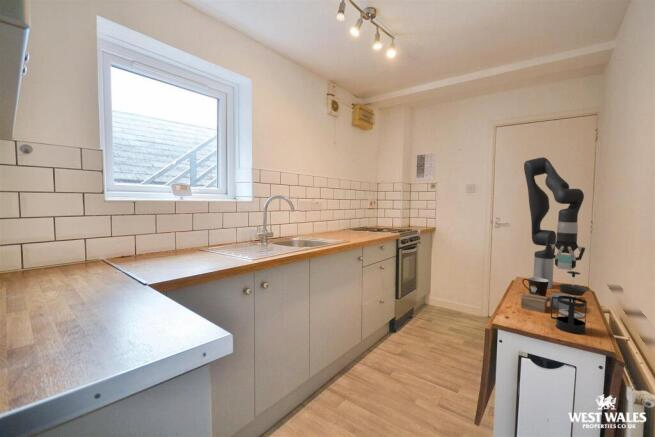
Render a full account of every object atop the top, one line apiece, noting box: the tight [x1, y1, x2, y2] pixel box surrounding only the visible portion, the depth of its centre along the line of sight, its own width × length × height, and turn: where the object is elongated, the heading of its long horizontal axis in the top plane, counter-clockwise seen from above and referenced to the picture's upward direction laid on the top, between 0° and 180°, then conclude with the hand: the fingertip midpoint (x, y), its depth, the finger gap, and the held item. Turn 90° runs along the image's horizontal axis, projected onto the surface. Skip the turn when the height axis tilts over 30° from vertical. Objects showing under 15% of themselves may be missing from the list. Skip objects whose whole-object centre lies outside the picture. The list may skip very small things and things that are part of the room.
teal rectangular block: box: [556, 253, 573, 271], centre depth 141 cm, size 5×7×6 cm
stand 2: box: [549, 292, 577, 310], centre depth 142 cm, size 9×9×5 cm
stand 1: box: [520, 292, 549, 313], centre depth 142 cm, size 9×9×5 cm
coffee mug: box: [521, 276, 549, 297], centre depth 156 cm, size 12×9×10 cm
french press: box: [550, 270, 589, 335], centre depth 118 cm, size 12×9×23 cm
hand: (565, 267), depth 141 cm, fingers closed on teal rectangular block, 5 cm apart
